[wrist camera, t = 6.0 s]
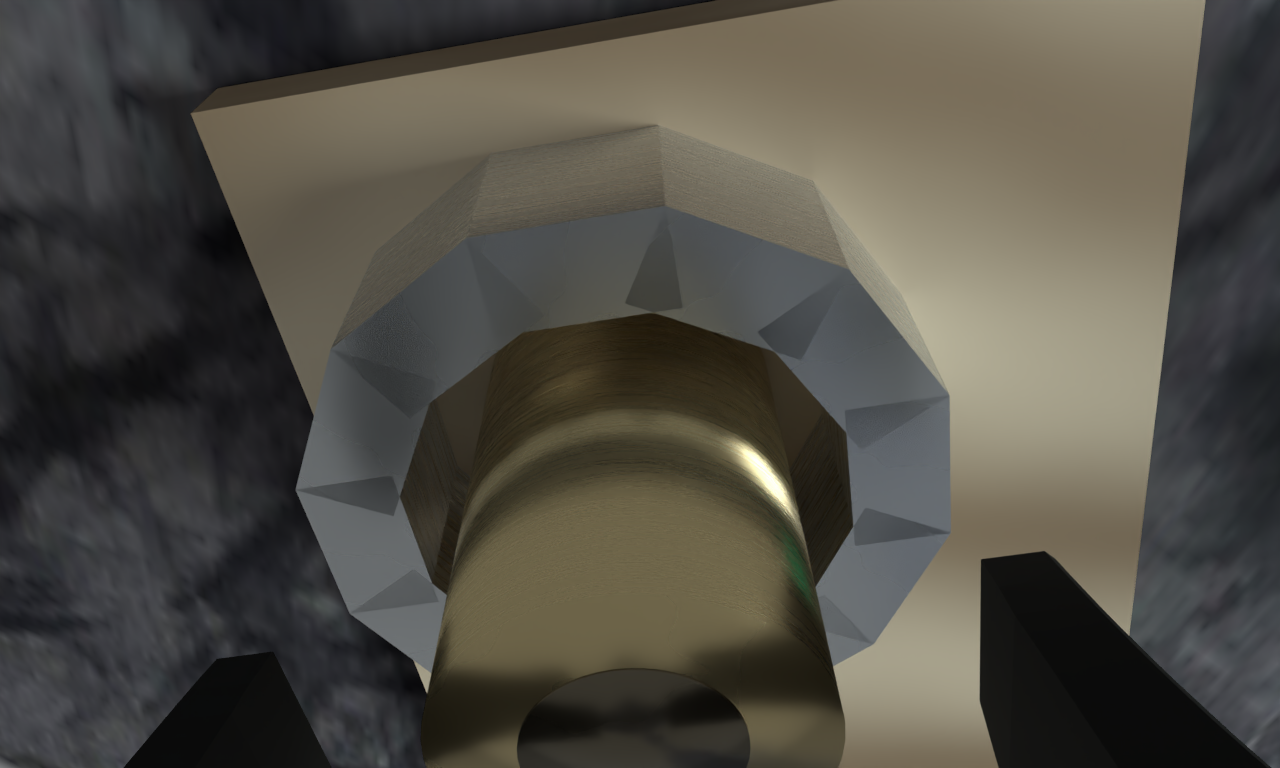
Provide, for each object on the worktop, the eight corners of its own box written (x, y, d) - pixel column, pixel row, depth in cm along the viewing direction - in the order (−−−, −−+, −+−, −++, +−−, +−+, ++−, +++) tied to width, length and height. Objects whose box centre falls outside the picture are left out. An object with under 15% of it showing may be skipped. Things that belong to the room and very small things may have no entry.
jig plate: (1088, 766, 21) (1108, 810, 20) (506, 833, 22) (502, 878, 21) (1173, -81, 13) (1213, -67, 12) (217, 88, 13) (191, 113, 13)
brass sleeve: (784, 486, 16) (860, 852, 11) (526, 525, 16) (482, 898, 11) (751, 250, 14) (827, 565, 9) (456, 301, 14) (361, 633, 9)
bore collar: (910, 564, 17) (952, 686, 15) (437, 627, 17) (411, 752, 15) (893, 84, 13) (947, 160, 10) (270, 190, 13) (204, 280, 11)
